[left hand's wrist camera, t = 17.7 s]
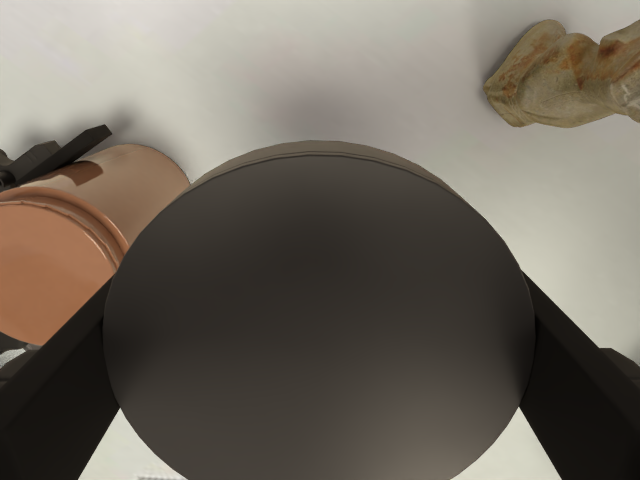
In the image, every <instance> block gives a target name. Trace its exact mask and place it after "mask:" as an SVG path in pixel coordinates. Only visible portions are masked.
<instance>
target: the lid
mask: <svg viewBox="0 0 640 480" xmlns="http://www.w3.org/2000/svg"><path fill="white" fill-rule="evenodd" d="M102 338H103V352H104V357H105V361H106V366H107V371H108V375H109V379H110V383H111V387H112V390H113V393H114V396H115V398H116V400H117V402H118V404H119V406H120V408H121V410H122V412H123V414H124V415H125V417H126V419H127V420H128V422H129V423H130V425H131V426H132V427H133V429H134V430H135V432H136V433H137V434H138V436H139V437H140V438H141V439H142V440H143V442H144V443H145V444H146V445H147V446H148V447H149V448H150V449H151V450H152V451H153V452H154V454H156V455H157V456H158V457H159V458H160V459H161V460H163V461H164V462H165V463H166V464H167V465H168V466H170V467H171V468H172V469H173V470H175V471H176V472H178V473H179V474H181V475H182V476H183V477H185V478H186V479H188V480H450V479H452V478H453V477H455V476H457V475H458V474H460V473H461V472H462V471H463V470H465V469H466V468H467V467H468V466H470V465H471V464H472V463H474V462H475V461H476V460H477V459H478V458H479V457H480V456H481V455H482V454H483V453H484V452H485V451H486V450H487V449H488V448H489V447H490V446H491V445H492V444H493V443H494V442H495V441H496V439H497V438H498V437H499V436H500V434H501V433H502V432H503V430H504V429H505V428H506V427H507V425H508V424H509V422H510V420H511V419H512V417H513V415H514V414H515V412H516V410H517V408H518V407H519V405H520V402H521V400H522V398H523V395H524V393H525V390H526V388H527V386H528V382H529V379H530V375H531V371H532V367H533V363H534V353H535V343H536V331H535V317H534V310H533V305H532V301H531V297H530V293H529V288H528V286H527V283H526V281H525V279H524V276H523V274H522V271H521V269H520V267H519V264H518V263H517V261H516V259H515V258H514V256H513V254H512V253H511V251H510V250H509V248H508V246H507V245H506V243H505V241H504V240H503V239H502V238H501V237H500V235H499V234H498V233H497V232H496V231H495V230H494V228H493V227H492V226H491V225H490V224H489V223H488V221H487V220H486V219H485V218H484V217H483V216H481V215H480V214H479V213H478V212H477V211H476V210H475V209H474V208H473V207H472V206H471V205H469V204H468V203H467V202H466V201H465V200H464V199H463V198H462V197H461V196H460V195H458V194H457V193H456V192H455V191H454V190H453V189H451V188H450V187H449V186H448V185H447V184H446V183H445V182H443V181H442V180H441V179H439V178H438V177H436V176H435V175H433V174H432V173H430V172H429V171H427V170H425V169H424V168H422V167H421V166H419V165H417V164H415V163H413V162H411V161H408V160H406V159H404V158H402V157H400V156H398V155H395V154H393V153H390V152H386V151H383V150H380V149H376V148H373V147H370V146H366V145H360V144H353V143H347V142H341V141H312V140H310V141H300V142H291V143H282V144H278V145H274V146H270V147H266V148H261V149H257V150H254V151H251V152H249V153H246V154H244V155H241V156H239V157H236V158H234V159H231V160H229V161H227V162H225V163H223V164H221V165H220V166H218V167H216V168H214V169H213V170H211V171H209V172H207V173H206V174H204V175H203V176H202V177H200V178H199V179H198V180H196V181H195V182H194V183H193V184H191V185H190V186H189V187H187V188H186V189H185V190H184V191H183V192H181V193H180V194H179V195H178V196H177V197H176V198H175V199H174V200H173V201H171V202H170V203H169V204H168V205H167V206H166V207H165V208H164V209H163V210H162V211H160V212H159V213H158V214H157V216H156V217H155V218H154V219H153V220H152V221H151V222H150V223H149V224H148V225H147V226H146V227H145V228H144V229H143V230H142V231H141V232H140V233H139V235H138V236H137V238H136V239H135V241H134V242H133V243H132V245H131V246H130V248H129V249H128V251H127V252H126V253H125V255H124V257H123V259H122V261H121V263H120V265H119V267H118V269H117V271H116V273H115V275H114V277H113V280H112V283H111V286H110V290H109V293H108V296H107V300H106V303H105V310H104V318H103V326H102Z"/></svg>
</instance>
